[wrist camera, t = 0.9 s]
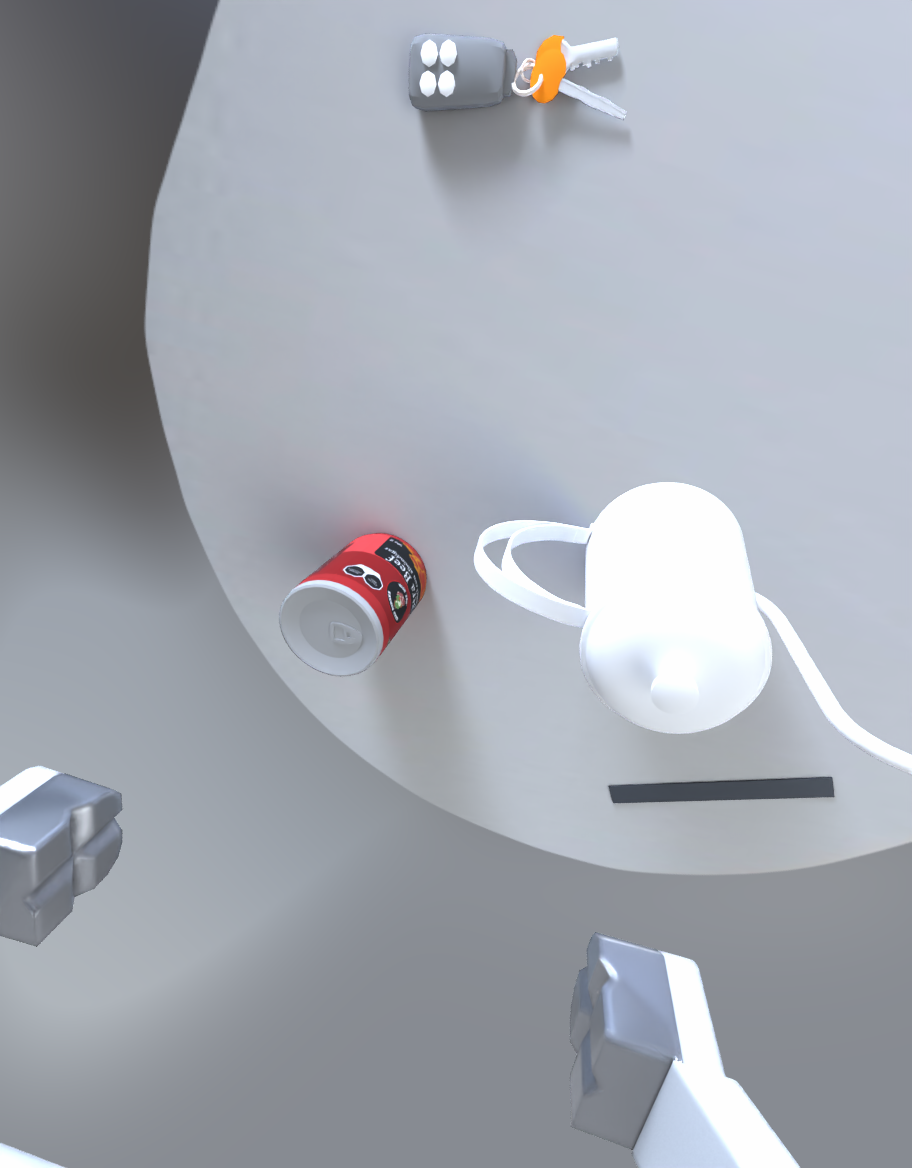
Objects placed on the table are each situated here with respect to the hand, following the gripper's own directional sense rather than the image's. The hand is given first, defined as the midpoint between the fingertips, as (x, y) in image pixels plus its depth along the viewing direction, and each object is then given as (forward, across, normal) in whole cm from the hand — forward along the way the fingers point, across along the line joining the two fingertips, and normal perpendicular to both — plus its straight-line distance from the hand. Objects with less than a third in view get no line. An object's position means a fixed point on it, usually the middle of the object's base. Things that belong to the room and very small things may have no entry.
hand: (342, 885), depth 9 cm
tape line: (+39, -22, +21) cm, 50 cm away
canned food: (+40, +10, +8) cm, 42 cm away
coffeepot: (+37, -12, 0) cm, 39 cm away
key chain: (+34, +5, -26) cm, 43 cm away
